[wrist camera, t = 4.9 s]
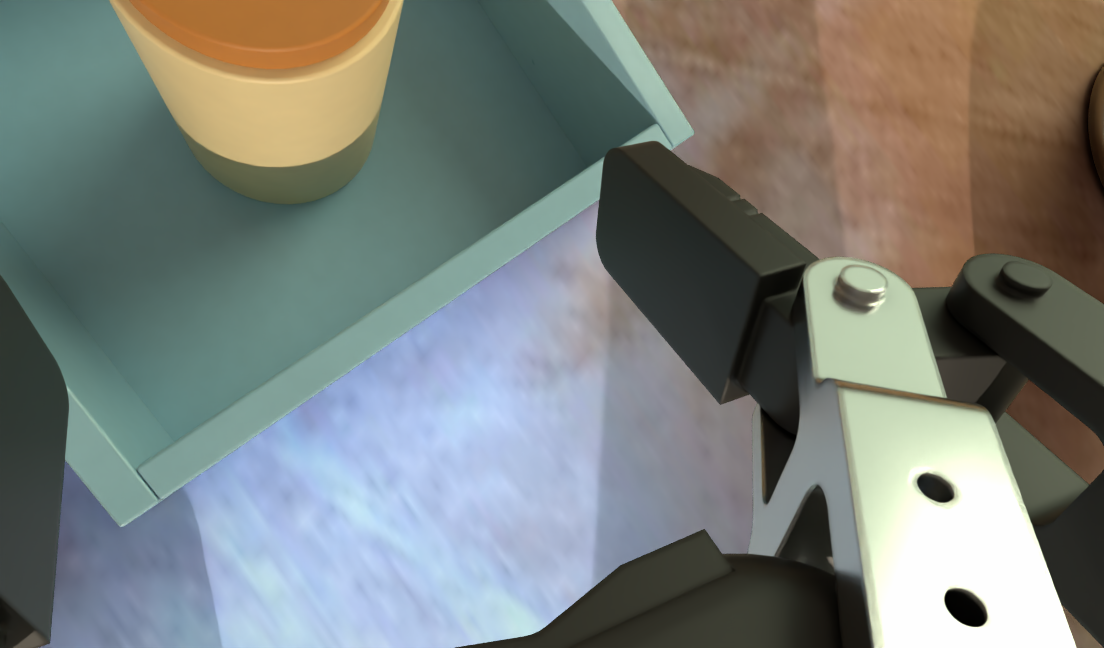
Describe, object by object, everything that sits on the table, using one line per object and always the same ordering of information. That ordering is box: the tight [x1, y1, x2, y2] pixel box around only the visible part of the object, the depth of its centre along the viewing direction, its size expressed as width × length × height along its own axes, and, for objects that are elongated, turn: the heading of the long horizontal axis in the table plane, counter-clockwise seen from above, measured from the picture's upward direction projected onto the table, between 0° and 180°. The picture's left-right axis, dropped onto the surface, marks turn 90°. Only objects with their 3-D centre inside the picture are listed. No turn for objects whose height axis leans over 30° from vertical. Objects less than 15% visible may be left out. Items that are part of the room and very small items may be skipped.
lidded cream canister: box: [109, 0, 404, 204], centre depth 14 cm, size 5×5×8 cm
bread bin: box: [0, 0, 694, 527], centre depth 17 cm, size 16×14×5 cm
